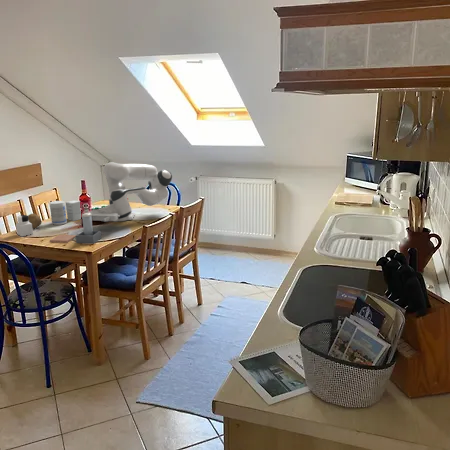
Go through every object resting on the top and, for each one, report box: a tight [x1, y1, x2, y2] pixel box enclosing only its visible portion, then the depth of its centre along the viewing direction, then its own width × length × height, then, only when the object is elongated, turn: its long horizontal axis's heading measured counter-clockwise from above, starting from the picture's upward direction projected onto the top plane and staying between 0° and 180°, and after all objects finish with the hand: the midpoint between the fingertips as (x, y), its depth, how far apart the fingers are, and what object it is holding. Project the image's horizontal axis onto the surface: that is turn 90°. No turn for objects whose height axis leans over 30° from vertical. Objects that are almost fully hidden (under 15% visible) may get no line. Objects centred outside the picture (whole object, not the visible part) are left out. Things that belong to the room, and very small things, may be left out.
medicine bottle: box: [15, 214, 34, 237], centre depth 269 cm, size 7×7×12 cm
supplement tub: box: [49, 200, 68, 226], centre depth 293 cm, size 10×10×15 cm
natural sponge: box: [27, 213, 42, 230], centre depth 282 cm, size 9×9×10 cm
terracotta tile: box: [49, 234, 77, 243], centre depth 260 cm, size 11×11×1 cm
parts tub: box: [75, 230, 102, 245], centre depth 257 cm, size 11×11×4 cm
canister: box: [81, 212, 94, 236], centre depth 255 cm, size 5×5×16 cm
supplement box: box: [65, 200, 82, 222], centre depth 304 cm, size 7×7×13 cm
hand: (96, 220), depth 266 cm, fingers open, 8 cm apart
